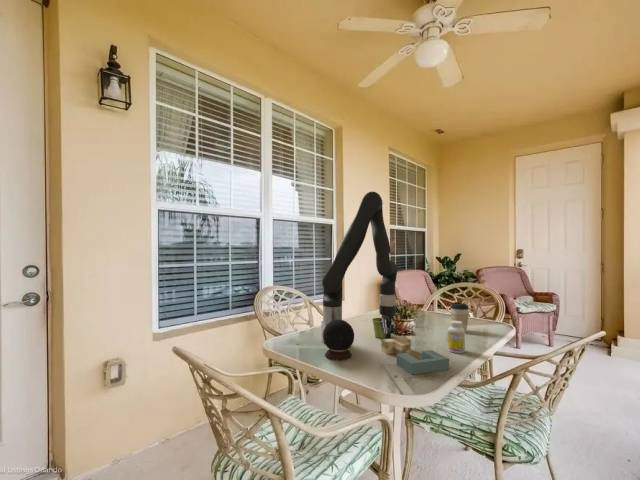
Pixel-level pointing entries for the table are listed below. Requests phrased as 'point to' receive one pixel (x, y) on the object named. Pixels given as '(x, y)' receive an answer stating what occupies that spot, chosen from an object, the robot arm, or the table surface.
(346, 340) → the black ball on stand
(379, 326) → the plant pot
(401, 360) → the dock
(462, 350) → the supplement bottle
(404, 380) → the table surface
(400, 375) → the table surface
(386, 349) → the t block
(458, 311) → the coffee cup
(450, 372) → the table surface
